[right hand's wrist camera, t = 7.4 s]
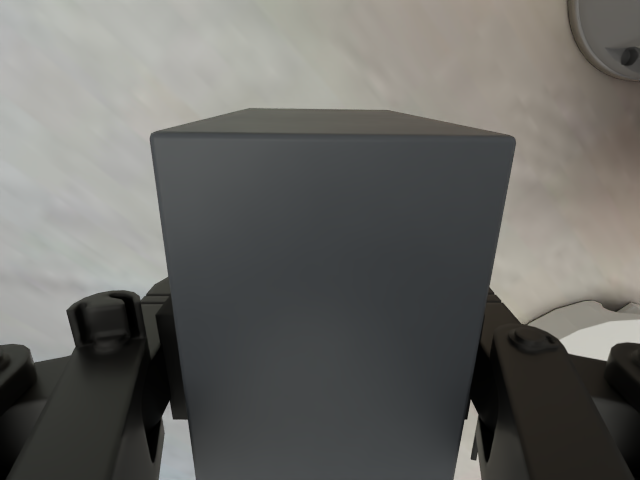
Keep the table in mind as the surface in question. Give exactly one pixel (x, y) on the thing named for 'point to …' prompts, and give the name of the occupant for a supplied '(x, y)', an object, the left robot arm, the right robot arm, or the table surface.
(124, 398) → the right robot arm
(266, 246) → the beam
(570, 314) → the ashtray
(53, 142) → the table surface
